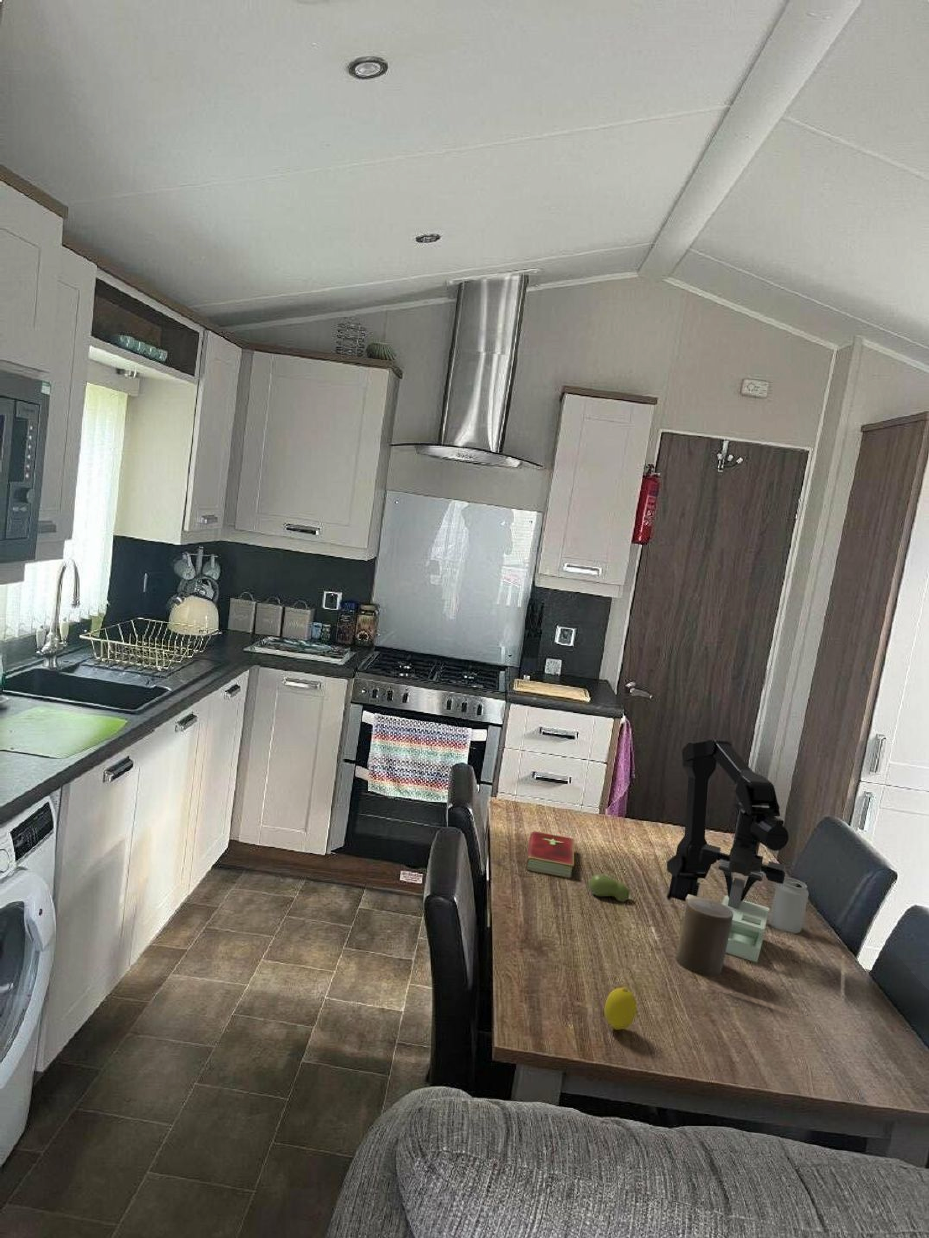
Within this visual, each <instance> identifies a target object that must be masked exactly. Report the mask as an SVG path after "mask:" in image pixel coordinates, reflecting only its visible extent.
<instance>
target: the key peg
mask: <svg viewBox="0 0 929 1238" xmlns="http://www.w3.org/2000/svg"><path fill="white" fill-rule="evenodd" d="M691 898H696V896H693V895H690V894H688V895H687V897H686V900H685V901H684V906H683V910H682V916H681V922H680V925H679V926H680V928H679V932H680V933H681V930H682V925H683V920H684V916H685V911H686V906H687V901H688V900H689V899H691ZM698 898H701V897H699V896H698Z"/></svg>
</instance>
